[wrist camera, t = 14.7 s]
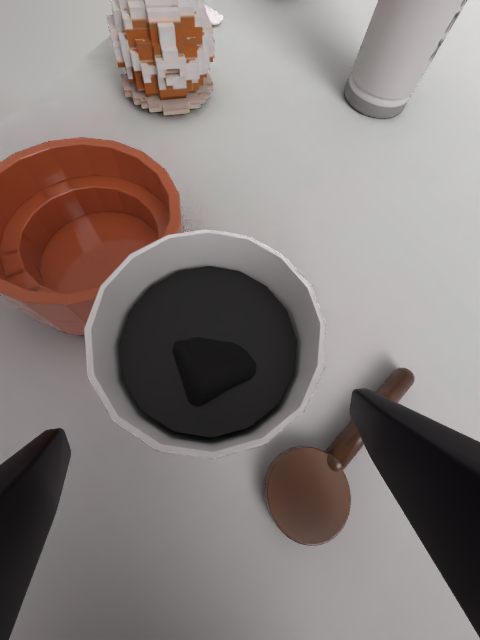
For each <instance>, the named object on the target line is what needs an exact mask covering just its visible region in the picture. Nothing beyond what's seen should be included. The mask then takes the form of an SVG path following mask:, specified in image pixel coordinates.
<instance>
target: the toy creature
mask: <svg viewBox="0 0 480 640" xmlns="http://www.w3.org/2000/svg"><path fill="white" fill-rule="evenodd" d="M202 1H203V0H202ZM204 6H205V8H206V13H207V15H208V18H209V20H210V22H211V24H212V25H219V24H220V23H221V22H222V20H223V18H224V16H223V15H219V14H218V12H217V11H216V10H215V9H211V8H210V7H209V6H208V5H206V4H204Z"/></svg>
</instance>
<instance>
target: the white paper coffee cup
mask: <svg viewBox="0 0 480 640" xmlns="http://www.w3.org/2000/svg"><path fill="white" fill-rule="evenodd" d="M84 331H85V347H86V362H87V377H88V378H89V380H90V382H91V384H92V385H93V387H94V389H95V391H96V392H97V394H98V396H99V398H100V399H101V401H102V403H103V405H104V406H105V408H106V410H107V412H108V413H109V415H110V417H111V419H112V420H113V421H114V422H115V423H117V424H118V425H120V426H121V427H123V428H124V429H126V430H127V431H129V432H130V433H132V434H133V435H134V436H136V437H137V438H139V439H140V440H142V441H143V442H145V443H146V444H148V445H149V446H151V447H152V448H154V449H155V450H157V451H160V452H166V453H173V454H179V455H186V456H192V457H199V458H205V459H211V460H213V459H217V458H220V457H224V456H227V455H231V454H234V453H238V452H241V451H245V450H248V449H252V448H255V447H259V446H262V445H265V444H267V443H268V442H269V441H270V440H271V439H273V438H274V437H275V436H276V435H277V434H278V433H280V432H281V431H282V430H283V429H284V428H286V427H287V426H288V425H289V424H290V423H291V422H293V421H294V420H295V419H296V418H297V417H299V416H300V415H301V414H302V413H303V412H304V411H305V409H306V407H307V405H308V403H309V401H310V399H311V397H312V395H313V393H314V391H315V388H316V386H317V384H318V382H319V380H320V378H321V376H322V374H323V372H324V370H325V351H326V323H325V320H324V317H323V315H322V312H321V309H320V307H319V304H318V301H317V299H316V296H315V294H314V291H313V288H312V286H311V285H310V284H309V282H308V281H307V280H306V279H305V278H304V277H303V276H302V275H301V273H300V272H299V271H298V270H297V269H296V268H295V267H294V266H293V264H292V263H291V262H290V261H289V260H288V259H287V258H286V257H285V256H284V255H283V254H281V253H279V252H277V251H275V250H273V249H272V248H270V247H268V246H266V245H264V244H262V243H261V242H259V241H257V240H255V239H253V238H251V237H250V236H245V235H239V234H234V233H228V232H223V231H217V230H212V229H206V230H199V231H192V232H185V233H178V234H171V235H167V236H165V237H163V238H161V239H159V240H157V241H155V242H153V243H151V244H149V245H147V246H145V247H143V248H141V249H139V250H137V251H135V252H133V253H131V254H130V255H129V256H128V257H127V258H126V259H125V260H124V261H123V262H122V263H121V265H120V266H119V267H118V268H117V269H116V270H115V271H114V272H113V273H112V274H111V275H110V276H109V277H108V278H107V280H106V281H105V282H104V283H103V284H102V285H101V286H100V289H99V291H98V294H97V296H96V299H95V302H94V304H93V307H92V310H91V312H90V315H89V318H88V320H87V323H86V326H85V328H84Z"/></svg>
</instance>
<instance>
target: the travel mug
mask: <svg viewBox="0 0 480 640" xmlns="http://www.w3.org/2000/svg"><path fill="white" fill-rule="evenodd" d="M466 1H467V0H378V3H377V6H376V8H375V11H374V13H373V16H372V19H371V21H370V24H369V26H368V29H367V32H366V34H365V37H364V39H363V42H362V45H361V47H360V50H359V52H358V55H357V58H356V60H355V63H354V65H353V68H352V71H351V73H350V76H349V78H348V81H347V84H346V86H345V96H346V99H347V101H348V102H349V103H350V105H351V106H352V107H353V108H355V109H356V110H357V111H359V112H360V113H362V114H365V115H367V116H370V117H374V118H390V117H394V116H396V115H398V114H399V113H400V112H402V110H403V109H404V107H405V105H406V104H407V102H408V100H409V98H410V97H411V95H412V93H413V92H414V90H415V88H416V87H417V85H418V83H419V81H420V80H421V78H422V76H423V75H424V73H425V71H426V69H427V68H428V66H429V64H430V63H431V61H432V59H433V58H434V56H435V54H436V52H437V51H438V49H439V47H440V46H441V44H442V42H443V41H444V39H445V37H446V35H447V34H448V32H449V30H450V29H451V27H452V25H453V24H454V22H455V20H456V18H457V17H458V15H459V13H460V12H461V10H462V8H463V7H464V5H465V3H466Z"/></svg>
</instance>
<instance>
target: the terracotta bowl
mask: <svg viewBox="0 0 480 640" xmlns="http://www.w3.org/2000/svg"><path fill="white" fill-rule="evenodd" d="M178 233H184V227H183V219H182V211H181V204H180V196H179V192H178V191H177V189H176V187H175V185H174V184H173V182H172V180H171V178H170V177H169V175H168V173H167V171H166V170H165V169H164V168H163V167H161V166H160V165H159V164H158V163H156V162H155V161H154V160H153V159H151V158H150V157H149V156H148V155H146V154H145V153H143V152H142V151H139V150H137V149H134V148H131V147H129V146H126V145H124V144H121V143H118V142H115V141H110V140H102V139H93V138H84V137H79V138H71V139H63V140H54V141H48V142H44V143H42V144H39V145H36V146H33V147H31V148H28V149H25V150H22V151H19V152H17V153H15V154H12V155H11V156H9V157H8V158H6V159H5V160H3V161H2V162H1V163H0V296H2V297H3V298H5V299H6V300H8V301H9V302H11V303H12V304H14V305H15V306H17V307H18V308H19V309H21V310H22V311H24V312H25V313H27V314H28V315H30V316H31V317H33V318H34V319H36V320H37V321H39V322H41V323H43V324H46V325H48V326H50V327H52V328H55V329H57V330H59V331H62V332H64V333H67V334H78V335H85V331H84V328H85V326H86V323H87V320H88V318H89V315H90V312H91V310H92V307H93V304H94V302H95V299H96V296H97V294H98V291H99V289H100V286H101V285H102V284H103V283H104V282H105V281H106V280H107V278H108V277H109V276H110V275H111V274H112V273H113V272H114V271H115V270H116V269H117V268H118V267H119V266H120V265H121V263H122V262H123V261H124V260H125V259H126V258H127V257H128V256H129V255H130V254H131V253H133V252H135V251H137V250H139V249H141V248H143V247H145V246H147V245H149V244H151V243H153V242H155V241H157V240H159V239H161V238H163V237H165V236H167V235H171V234H178Z"/></svg>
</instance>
